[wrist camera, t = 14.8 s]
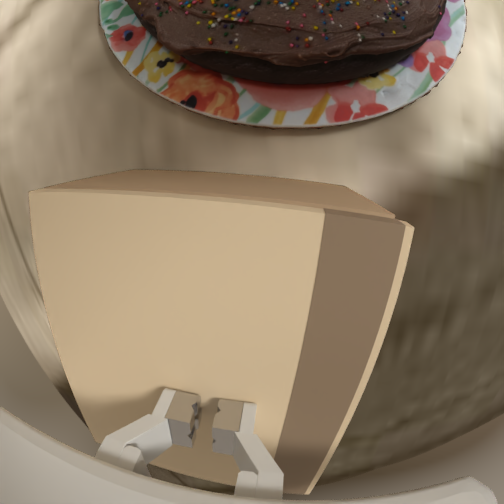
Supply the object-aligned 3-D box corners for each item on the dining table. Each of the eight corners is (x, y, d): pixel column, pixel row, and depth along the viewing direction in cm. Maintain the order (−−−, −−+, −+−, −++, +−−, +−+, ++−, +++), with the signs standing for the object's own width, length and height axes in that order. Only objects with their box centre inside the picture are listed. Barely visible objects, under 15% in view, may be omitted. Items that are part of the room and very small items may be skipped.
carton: (344, 186, 18) (395, 215, 9) (306, 382, 23) (309, 472, 15) (133, 169, 19) (43, 187, 10) (145, 358, 24) (101, 431, 16)
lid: (405, 220, 8) (414, 227, 8) (309, 484, 14) (309, 494, 13) (41, 187, 10) (28, 191, 9) (100, 433, 15) (95, 442, 15)
